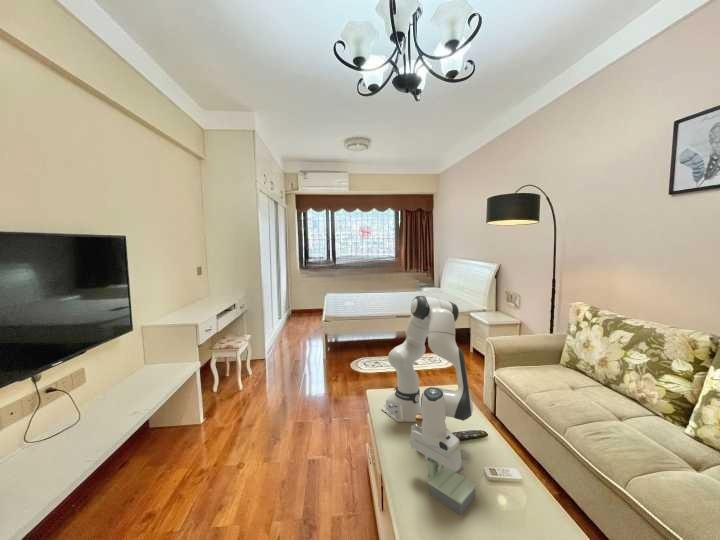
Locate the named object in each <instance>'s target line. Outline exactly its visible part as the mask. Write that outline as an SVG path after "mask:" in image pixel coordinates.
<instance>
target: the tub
mask: <svg viewBox="0 0 720 540" xmlns="http://www.w3.org/2000/svg"><path fill="white" fill-rule="evenodd" d="M429 495H430V496H431V497H433V498H434V499H435V500H438V501H439V502H441V503H442V504H443V505H445V506H446V507H448V508H449V509H450V510H452V511H454V512H455V513H457V515H460V516H462V515H463V513H464V512H466V510H467V508H468V507H469V506H470V505H471V503H472V502H473V501H474V500H475V498H476V487H475V488H474V490H473V491H472V492H471V493H470V495H469V496H468V497H467V498H466V499H465V501H464V502H463V503H462V504H460V503H458V502H456V501H455V500H453V499H452V498H450V497H449V496H447V495H446V494H444V493H442V492H441V491H439V490H438V489H436V488H435V487H433V486H432V485H430V484H429Z"/></svg>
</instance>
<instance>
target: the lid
mask: <svg viewBox="0 0 720 540" xmlns="http://www.w3.org/2000/svg"><path fill="white" fill-rule="evenodd" d="M437 465H438V462H436V461H434V460H433V459H430V460H429V461H428V462H427V469H428V471H427V473H428V476H427V477H428V478H430V480H429V481H428V485H429V486H430V485H432V486H433V487H435V488H436V489H438V490H439V491H441V492H442V493H444V494H446V495H447V496H449V497H450V498H452V499H453V500H455V501H456V502H458V503H460V504H462V503H463V502H464V501H465V499H466V498H467V497H468V496H469V495H470V493H471V492H472V491H473V490H474V488H475V489H476V488H477V483H475V482H474V481H471V479H468V478H467V477H466V476H463V475H461V474H459V473H458V472H457V471H456V472H454V471H452V470H450V469H448V468H447V467H445V466H442V467H441V472H440V473H438V472H437V471H436V469H435V467H436V466H437Z"/></svg>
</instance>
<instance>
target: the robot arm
mask: <svg viewBox="0 0 720 540" xmlns="http://www.w3.org/2000/svg"><path fill="white" fill-rule="evenodd" d="M410 313H411V315H410V318H409V320H408V322H407V325H406V327H405V328H404V329H405V330H404V333H405V340H404V341H403V342H402V343H401V344H399V345H397V346H395V347H393V349H391V351H389V353H388V356H387V360H388V363H389V364H390V366H391V367H392V368H394V371H395V372H396V373H395V374H396V380H397V383H396V384H397V386H396V387H394V388H393V391H394V393H392V394H391V395H389V396H388V397H387V398H386V400H385V403H384V404H383V405H382V406H381V409H382V410H383V411H382V410H381V411H382V412H384V413H385V412H386V413H387V414H386V413H385V414H386V415H388V416H389V417H390V416H391V417H390V418H392V419H393V420H395V421H396V422H397V423H401V422H403V423H404V422H408V423H409V422H410V423H411V422H413V423H414V422H416V416H417V413H419V414H422V418H423V421H422V427H420V426H418V425H416V423H414V424H411V427H410V432H411V433H410V439H409V445H410V447H411V448H412V449H414V450H415V451H417V452H419V453H421V454H422V455H424V458H425V461H426V462H427V463H428V461H429V460H430V459H433V460H434V461H436V462H438V465H437V466H436V467H435V469H436V471H437V472H438V473H440V472H441V469H442V468H443V467H444V466H445V467H447V468H448V469H450V470H452V471H454V472H456V473H457V472H458V471H459V470H460V469H461V468H462V464H463V463H462V461H463V460H462V452H461V449H460V447H459V445H460V439H459V438H458V437H457V436H456V435H455V434H453V433H452V432H451V430H449V429H448V428H447V424H446V418H453V419H455V420H460V421H466V420H468V419H470V417H472V414H473V411H474V405H473V401H472V396H471V394H470V388H469V381H468V373H467V366H466V361H465V360H466V359H465V356H464V351H463V350H462V349H461V348H460V347H458V344H457V342H456V321H457V320H458V318H459V314H460V313H459V307H458V305H457V304H456V303H454V302H453V301H447V300H444V299H441V298H438V297H437V298H435V297H431V296H426V295H416V296H415V297H414V298H413V299H412V302H411V305H410ZM426 339H427V343H428V344H427V345H428V348H429V349H430V351H431V352H432V353H434V355H436V356H438V357H439V358H441V359H443V360H445V361H447V362H448V363H450V364H451V365H452V366H453V367H454V369H455V374H456V375H455V376H456V380H457V381H456V382H457V390H453V389H446V388H440V387H434V386H433V387H432V386H431V387H427V388H425V389H424V391H423V392H422V394H421V391H420V388H419V387H420V386H419V380H420V379H419V374H418V372H417V371H416V370H415V369H414V364H415V362H417V361H418V360H420V359H421V358H422V357H423V356H424V355H425V353H426V345H425V343H426Z"/></svg>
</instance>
